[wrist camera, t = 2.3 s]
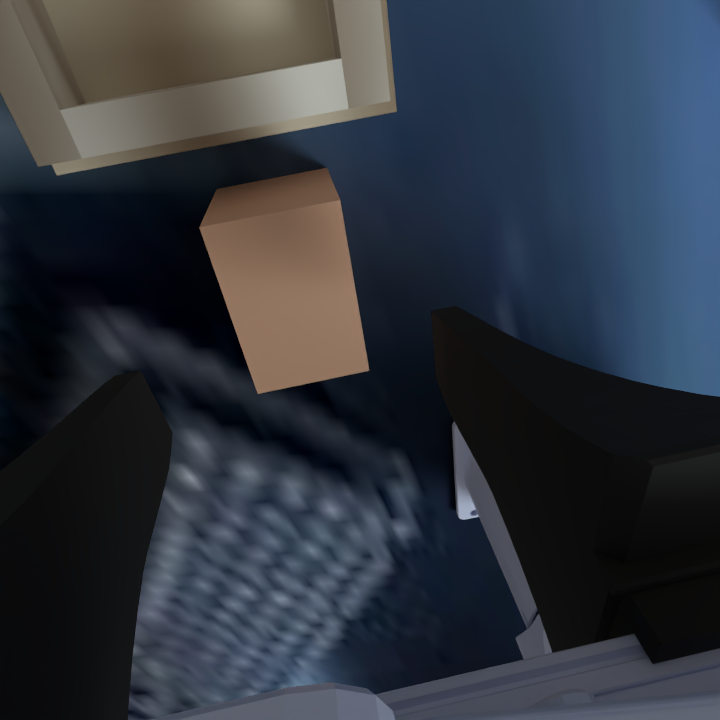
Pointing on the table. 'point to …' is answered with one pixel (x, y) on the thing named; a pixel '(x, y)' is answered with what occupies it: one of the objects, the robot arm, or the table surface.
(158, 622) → the table surface
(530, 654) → the robot arm
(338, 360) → the keyed block
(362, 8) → the stand
